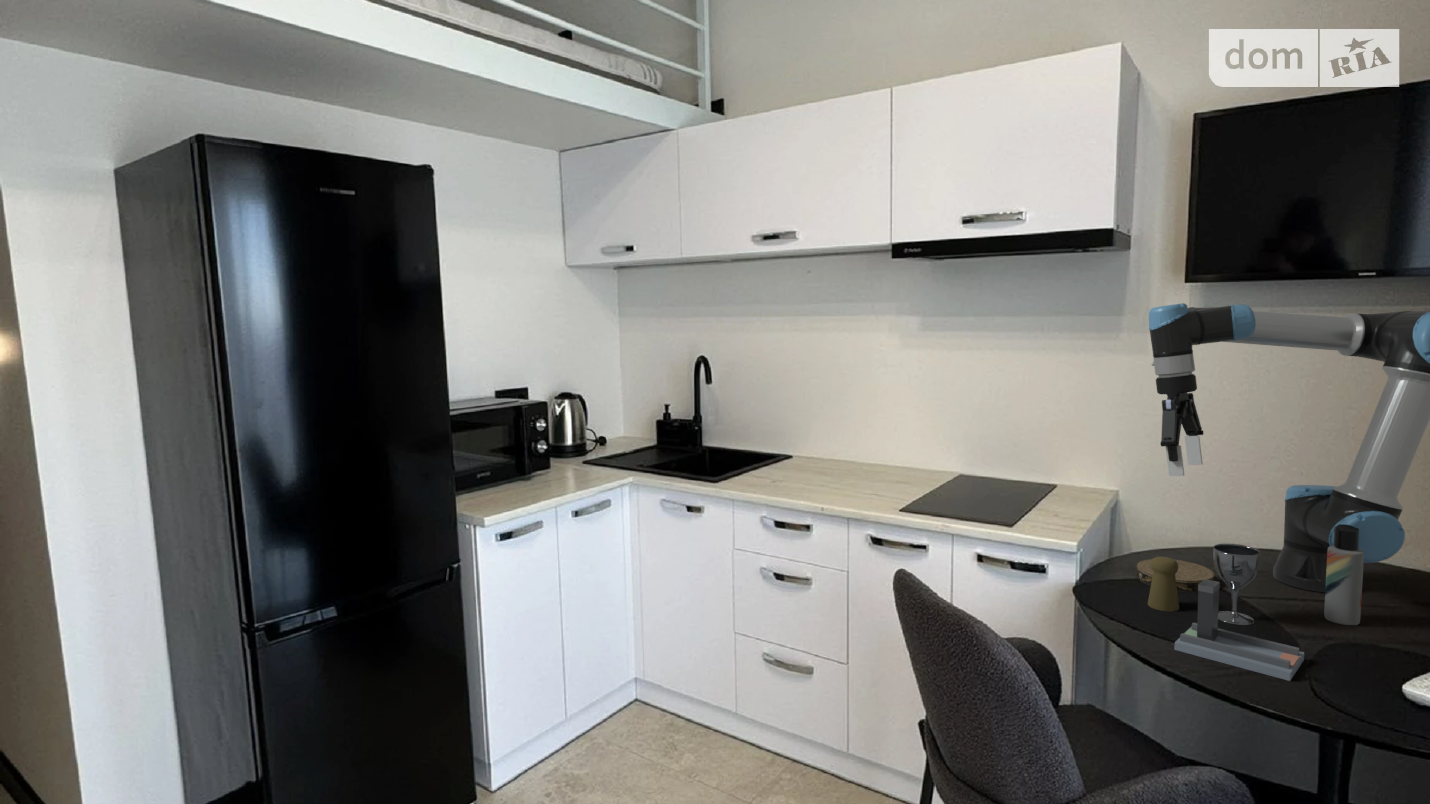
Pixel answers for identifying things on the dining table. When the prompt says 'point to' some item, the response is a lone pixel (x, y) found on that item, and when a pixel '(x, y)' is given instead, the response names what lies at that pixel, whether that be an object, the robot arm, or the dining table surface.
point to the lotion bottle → (1344, 577)
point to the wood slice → (1178, 574)
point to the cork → (1164, 585)
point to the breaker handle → (1208, 609)
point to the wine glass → (1236, 575)
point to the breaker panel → (1243, 652)
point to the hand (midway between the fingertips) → (1186, 470)
